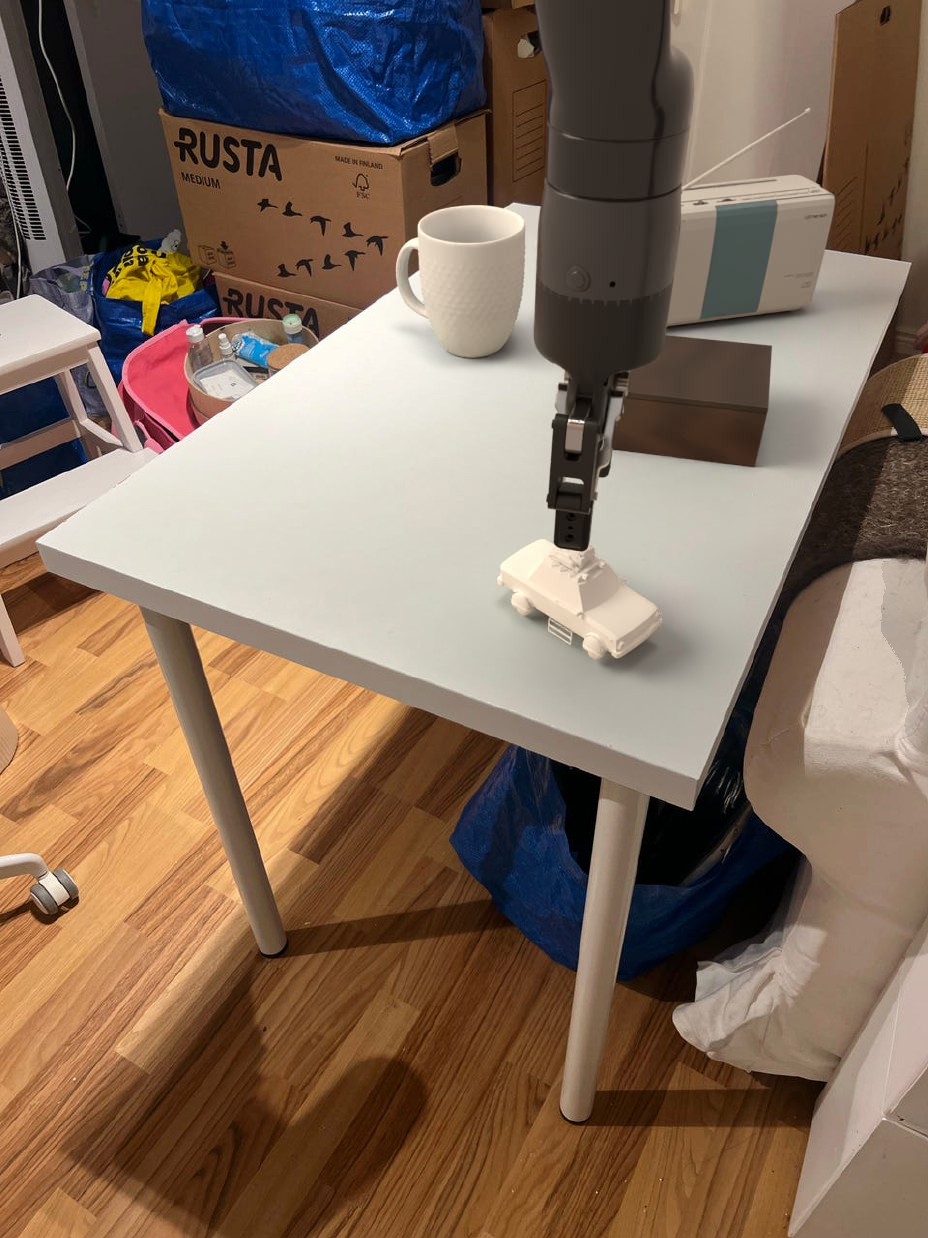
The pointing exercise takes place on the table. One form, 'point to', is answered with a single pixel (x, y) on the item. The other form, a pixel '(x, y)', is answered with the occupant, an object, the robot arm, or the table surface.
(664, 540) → the table surface
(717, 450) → the stand
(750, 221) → the radio
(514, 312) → the mug
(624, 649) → the toy car
